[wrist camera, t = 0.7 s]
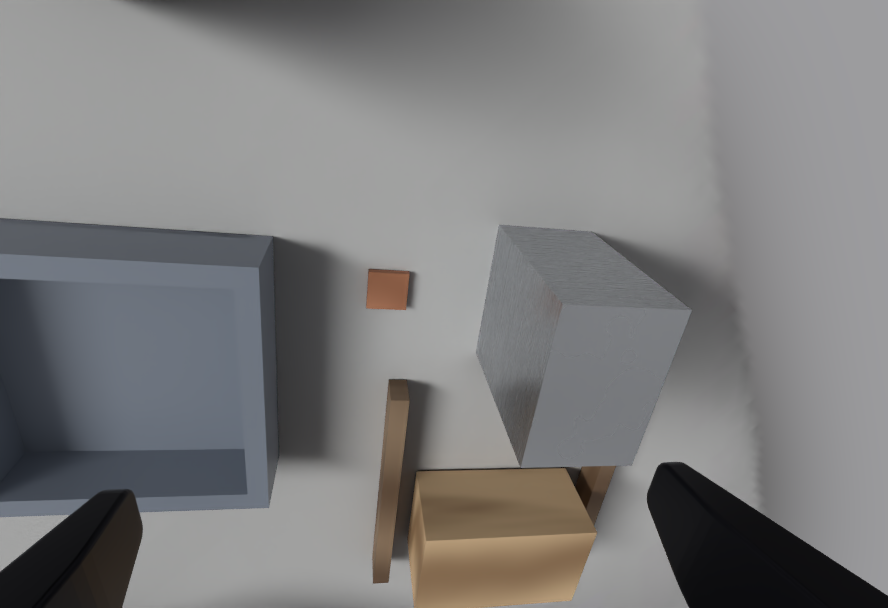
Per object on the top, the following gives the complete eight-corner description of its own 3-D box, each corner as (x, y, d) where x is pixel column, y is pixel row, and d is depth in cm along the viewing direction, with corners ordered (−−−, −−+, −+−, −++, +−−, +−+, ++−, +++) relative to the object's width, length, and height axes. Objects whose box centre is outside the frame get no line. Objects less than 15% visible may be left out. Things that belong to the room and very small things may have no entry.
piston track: (567, 547, 30) (577, 570, 28) (350, 558, 27) (350, 584, 26) (658, 285, 22) (677, 300, 21) (368, 269, 20) (369, 285, 18)
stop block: (558, 354, 23) (631, 465, 17) (475, 352, 22) (520, 467, 16) (591, 231, 20) (692, 310, 14) (498, 224, 20) (562, 304, 14)
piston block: (545, 532, 29) (571, 600, 25) (407, 539, 27) (414, 612, 24) (565, 468, 26) (597, 532, 23) (416, 471, 25) (426, 540, 21)
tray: (278, 455, 23) (268, 507, 21) (14, 459, 21) (-35, 518, 18) (272, 236, 18) (258, 267, 16) (-70, 213, 16) (-151, 245, 14)
